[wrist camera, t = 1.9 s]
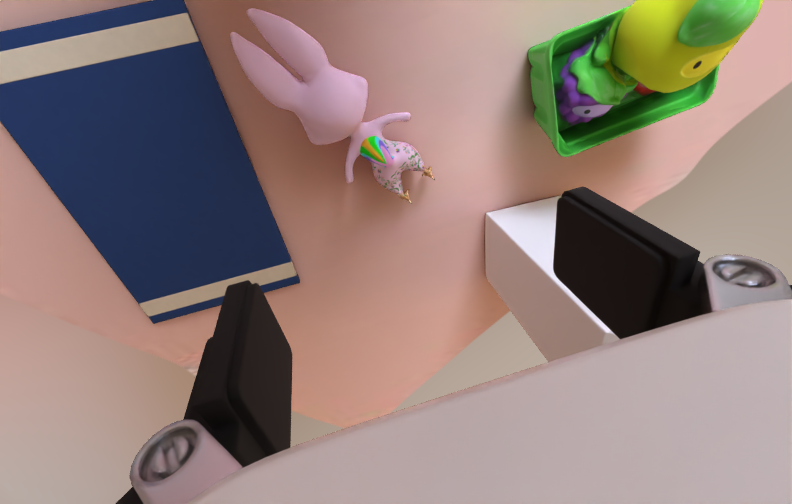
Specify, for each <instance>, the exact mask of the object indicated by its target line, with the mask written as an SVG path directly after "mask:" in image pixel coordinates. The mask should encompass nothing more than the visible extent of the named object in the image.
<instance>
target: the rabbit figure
mask: <svg viewBox="0 0 792 504" xmlns="http://www.w3.org/2000/svg"><path fill="white" fill-rule="evenodd" d="M247 15H248V16H249V18H250V19H251V20H252V22H253V23H254V24H255V25H256V27H257V28H258V30H259V31H260V33H261V34H262V35H263V37H264V38H265V40H266V41H267V42H268V43H269V45H270V46H271V47H272V48H273V49H274V50H275V51H276V52H277V53H278V54H279V55H280V56H281V57H282V58H283V59H284V60H285V61H286V62H287V63H288V64H289V65H290V66H291V67H292V68H293V69H294V70H295V71H296V72H297V73H298V74H300V75H301V77H302V78H303V81H299V80H298V79H296V78H295V77H294V76H293V75H292V74H291V73H290V72H289V71H288V70H286V69H285V68H284V67H283V66H282V65H281V64H279V63H278V62H277V61H276V60H275V59H273V58H272V57H271V56H270V55H269V54H267V53H266V52H264V51H263V50H262V49H260V48H259V47H257V46H256V45H254V44H252V43H251V42H249V41H248V40H246V39H244V38H243V37H242V36H240V35H239V34H237V33H236V32H232V33H231V35H230V38H231V43H232V46H233V49H234V51H235V54H236V56H237V58H238V60H239V63H240V65H241V67H242V68H243V70H244V72H245V74H246V75H247V77H248V78H249V80H250V81H251V82H252V84H253V85H254V86H255V87H256V88H257V89H258V90H259V92H260V93H261V94H262V95H263V96H264V97H265V98H266V99H267V100H268V101H270V102H271V103H272V104H274V105H275V106H277V107H279V108H282V109H286V110H291V111H293V112H294V113H295V114H296V115H297V116H298V117H299V119H300V121H301V123H302V125H303V127H304V129H305V131H306V133H307V136H308V138H309V140H310V141H311V142H312V143H313V144H315V145H324V144H330V143H334V142H337V141H340V140H343V139H345V138H346V137H348V136H350V137H351V143H350V146H349V149H348V152H347V157H346V163H345V177H346V181H347V183H352V182H353V180H354V176H353V171H352V170H353V164H354V161H355V159H356V158H357V157H358V156H359V155H362V156H363V157H364V158H366V159H367V160H369V161H371V164H372V170H373V174H374V177H375V179H376V181H377V182H378V183H379V184H380V185H382V186H383V187H384V188H386V189H388V190H390V191H392V192H394V193H396V194H399V195H400V198H401V199H405V200H407V201H409V202H410V203H411V201H410V198H409V195H408V191H409V189H408V190H407V191H406V192H403V189H402V178H401V172H402V171H404V170H411V171H423V172H424V173H423V174H422V177H423V175H425V176H429V177H432V176H433V175H432V173H431V167H430V166H429V168H428V169H426V168H425V166H424V163H423V161H422V159H421V157H420V155H419V153H418V151H417V150H416V149H415V148H414V147H413V146H412V145H410V144H408V143H405V142H399V141H390V140H387V139H385V138H384V137H383V136H382V130H383V128H384V127H385V126H386V125H387V124H389V123H391V122H394V121H409V120H410V118H411V115H410V113H408V112H401V113H391V114H387V115H384V116H381V117H378V118H375V119H374V120H372V121H369V122H362V119H363V116H364V113H365V109H366V105H367V100H368V84H367V81H366V80H365V79H364V78H363V77H360V76H356V75H353V74H350V73H347V72H344V71H341V70H338V69H336V68H334V67H333V66H331V65H330V63H329V61H328V59H327V56H326V53H325V51H324V49H323V48H322V46H321V45H320V44H319V43H318V42H317V41H316V40H315V39H314V38H313V37H312V36H310V35H309V34H307V33H306V32H305V31H303V30H302V29H300V28H299V27H298V26H296V25H295V24H293V23H292V22H290V21H288V20H286V19H284V18H282V17H279V16H277V15H274V14H272V13H269V12H266V11H263V10H259V9H248V10H247ZM432 179H434V178H433V177H432ZM434 180H435V179H434ZM411 204H412V203H411Z"/></svg>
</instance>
